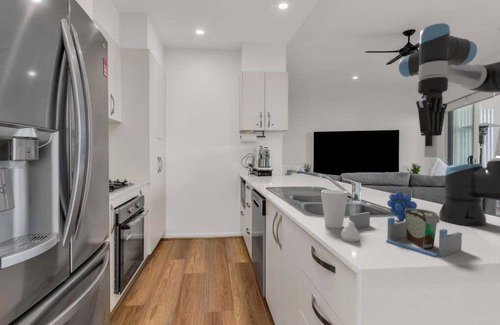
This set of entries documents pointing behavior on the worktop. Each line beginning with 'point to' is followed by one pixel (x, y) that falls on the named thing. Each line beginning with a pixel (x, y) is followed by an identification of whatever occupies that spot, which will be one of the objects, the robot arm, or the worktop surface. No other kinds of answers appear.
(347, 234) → the garlic bulb
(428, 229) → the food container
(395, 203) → the grapes
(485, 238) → the worktop surface
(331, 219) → the foam cup
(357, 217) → the blue-edged channel bracket
